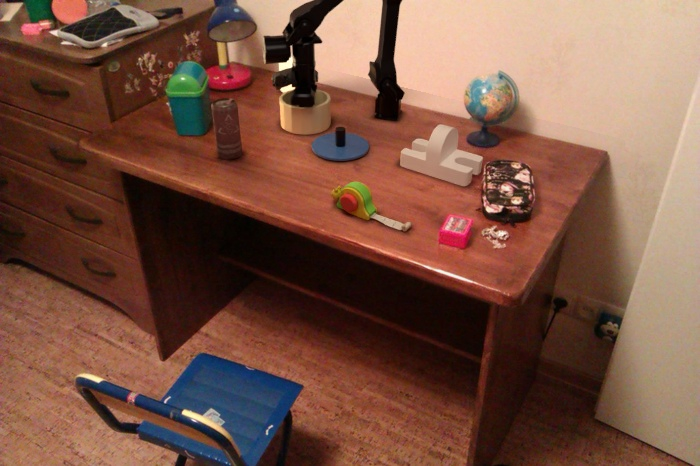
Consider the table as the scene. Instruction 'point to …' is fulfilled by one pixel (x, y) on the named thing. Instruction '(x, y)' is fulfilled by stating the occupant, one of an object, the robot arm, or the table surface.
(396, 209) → the table surface
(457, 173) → the grey bracket part
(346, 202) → the toy measuring tape
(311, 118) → the tin
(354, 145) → the lid
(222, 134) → the can
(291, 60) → the photo printer
